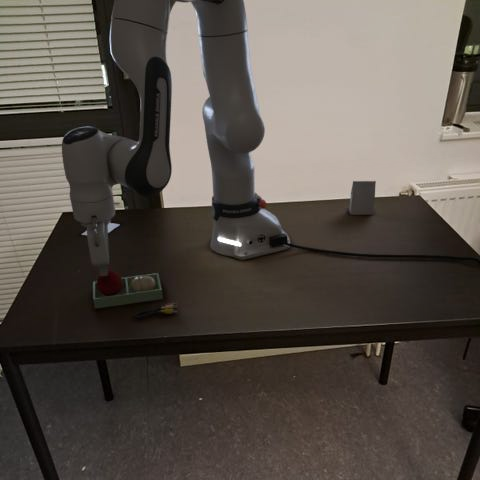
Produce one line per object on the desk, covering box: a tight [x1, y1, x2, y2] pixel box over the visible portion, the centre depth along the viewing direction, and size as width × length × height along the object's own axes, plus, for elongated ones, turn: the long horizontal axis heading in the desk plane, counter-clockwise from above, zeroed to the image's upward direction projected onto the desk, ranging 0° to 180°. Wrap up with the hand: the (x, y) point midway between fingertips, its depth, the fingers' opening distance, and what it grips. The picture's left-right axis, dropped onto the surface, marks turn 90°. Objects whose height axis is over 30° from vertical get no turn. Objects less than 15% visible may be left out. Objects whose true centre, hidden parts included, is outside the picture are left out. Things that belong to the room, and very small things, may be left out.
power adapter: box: [81, 222, 121, 237], centre depth 153 cm, size 3×3×3 cm
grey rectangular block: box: [348, 180, 377, 216], centre depth 158 cm, size 4×7×10 cm, turn 87°
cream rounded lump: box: [131, 275, 156, 292], centre depth 123 cm, size 6×4×4 cm
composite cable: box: [134, 302, 179, 320], centre depth 117 cm, size 10×5×2 cm, turn 95°
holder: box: [92, 272, 164, 309], centre depth 123 cm, size 16×8×3 cm, turn 103°
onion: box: [96, 266, 122, 296], centre depth 121 cm, size 6×6×8 cm
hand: (103, 264), depth 118 cm, fingers open, 8 cm apart
